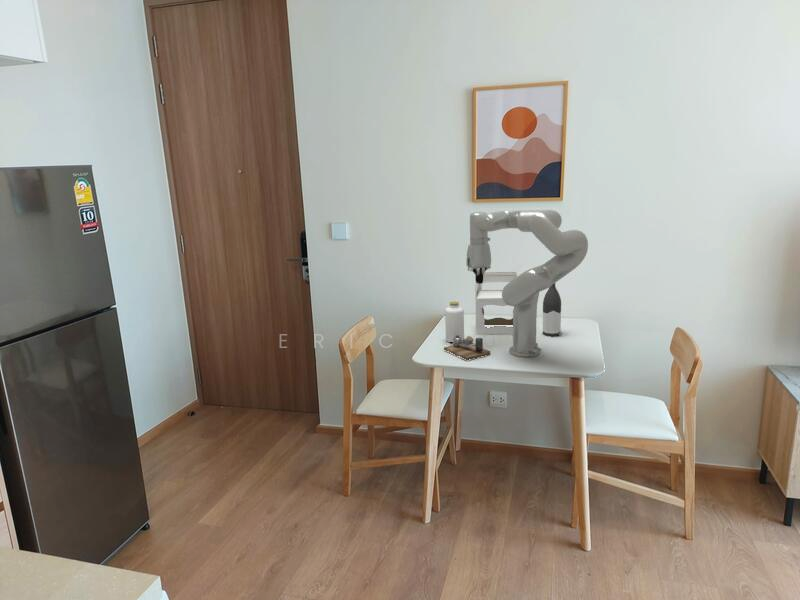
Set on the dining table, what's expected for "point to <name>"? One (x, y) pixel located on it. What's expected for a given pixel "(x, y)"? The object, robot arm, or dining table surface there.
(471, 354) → the board
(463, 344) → the lever
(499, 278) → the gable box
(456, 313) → the white container
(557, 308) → the wine bottle
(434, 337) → the dining table surface
